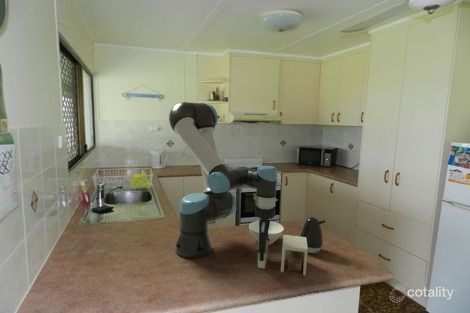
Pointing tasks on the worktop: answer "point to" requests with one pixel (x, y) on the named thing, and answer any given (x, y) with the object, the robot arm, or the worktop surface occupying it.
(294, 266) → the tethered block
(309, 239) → the pump dispenser
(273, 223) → the bowl
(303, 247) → the cream u-shaped stand
